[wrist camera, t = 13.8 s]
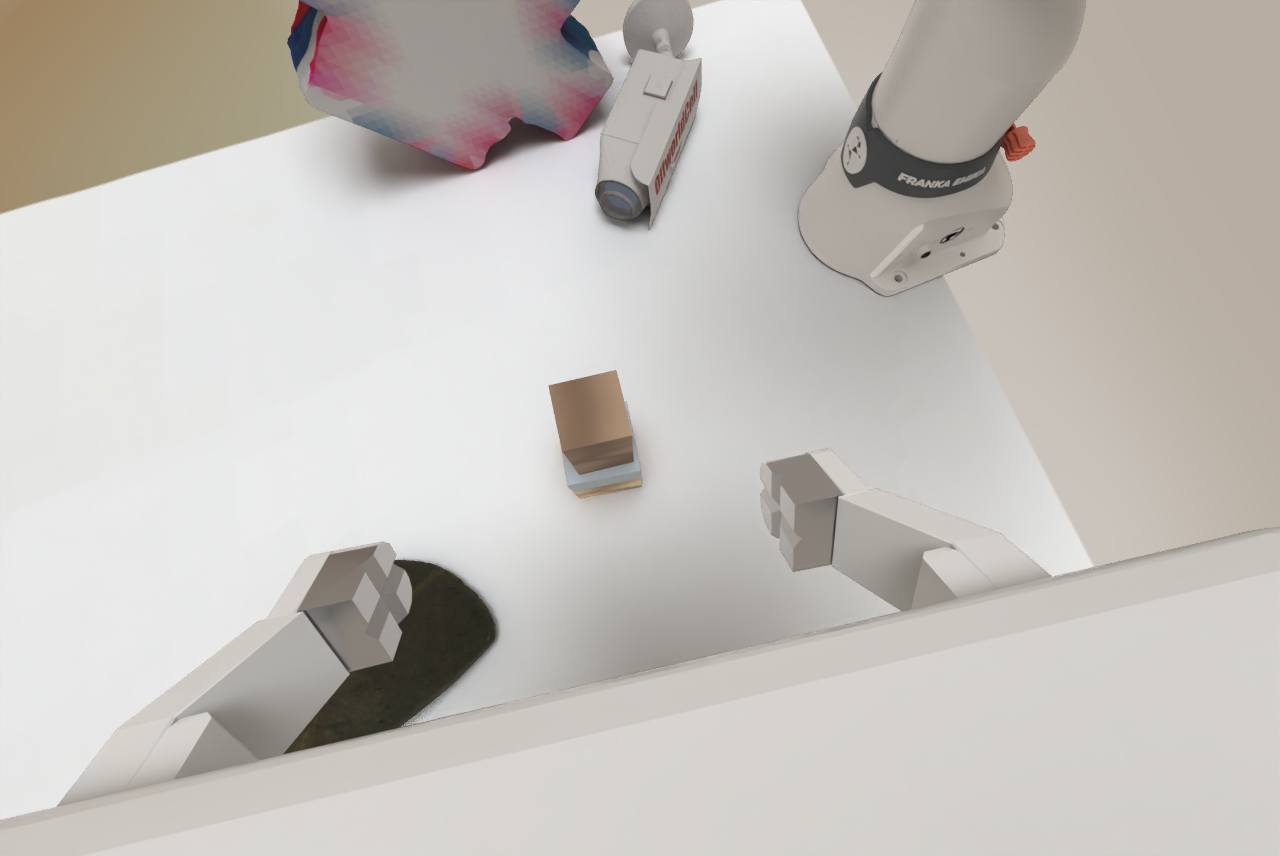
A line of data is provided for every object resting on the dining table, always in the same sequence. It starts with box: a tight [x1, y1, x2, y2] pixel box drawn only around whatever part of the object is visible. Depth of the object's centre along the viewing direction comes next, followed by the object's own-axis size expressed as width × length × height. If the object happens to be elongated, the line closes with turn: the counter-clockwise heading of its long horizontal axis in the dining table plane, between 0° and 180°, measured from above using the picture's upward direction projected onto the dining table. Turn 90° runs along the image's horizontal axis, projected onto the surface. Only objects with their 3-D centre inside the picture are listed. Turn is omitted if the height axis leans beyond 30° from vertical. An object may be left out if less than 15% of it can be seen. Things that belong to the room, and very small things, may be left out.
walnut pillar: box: [549, 370, 634, 475], centre depth 35 cm, size 4×4×9 cm
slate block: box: [561, 401, 641, 492], centre depth 41 cm, size 6×6×4 cm
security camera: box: [595, 0, 702, 230], centre depth 53 cm, size 8×24×15 cm
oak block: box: [575, 478, 642, 498], centre depth 45 cm, size 6×6×4 cm
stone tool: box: [283, 560, 495, 755], centre depth 40 cm, size 18×8×10 cm
